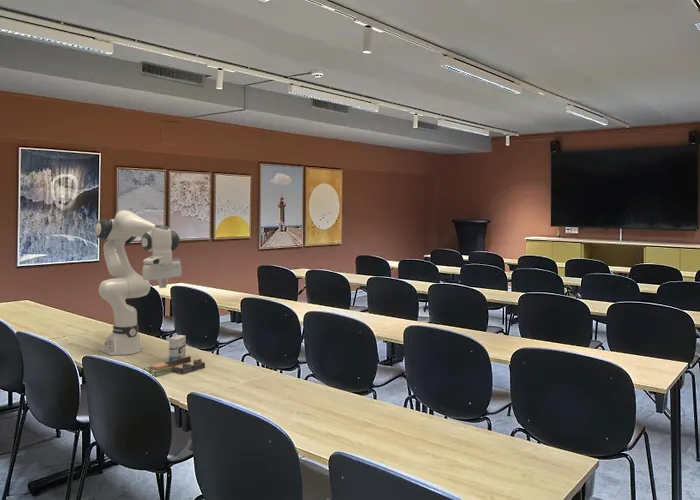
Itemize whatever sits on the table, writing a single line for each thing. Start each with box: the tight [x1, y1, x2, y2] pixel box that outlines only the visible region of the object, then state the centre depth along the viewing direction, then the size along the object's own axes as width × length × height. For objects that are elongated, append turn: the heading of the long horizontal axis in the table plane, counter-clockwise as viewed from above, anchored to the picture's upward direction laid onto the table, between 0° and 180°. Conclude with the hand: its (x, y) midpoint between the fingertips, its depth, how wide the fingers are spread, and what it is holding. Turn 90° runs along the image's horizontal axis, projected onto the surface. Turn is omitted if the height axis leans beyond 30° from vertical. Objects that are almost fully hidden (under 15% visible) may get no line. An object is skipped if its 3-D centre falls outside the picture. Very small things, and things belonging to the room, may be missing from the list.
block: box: [150, 362, 168, 371], centre depth 267 cm, size 5×6×4 cm
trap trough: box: [143, 355, 206, 378], centre depth 272 cm, size 15×26×2 cm, turn 145°
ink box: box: [168, 334, 187, 362], centre depth 288 cm, size 8×5×12 cm, turn 168°
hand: (162, 287), depth 279 cm, fingers closed
